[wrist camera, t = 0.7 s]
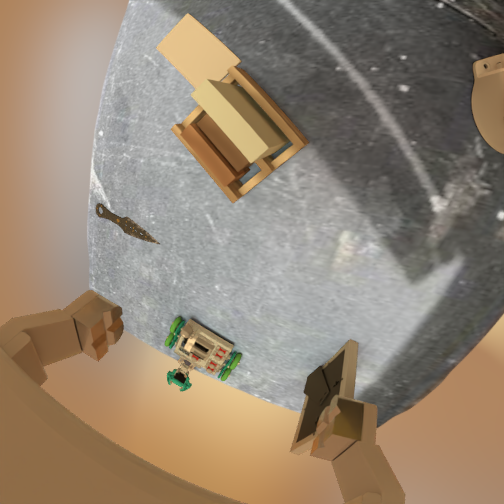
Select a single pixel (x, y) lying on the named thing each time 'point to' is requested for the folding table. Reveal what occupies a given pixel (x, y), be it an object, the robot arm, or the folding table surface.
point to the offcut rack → (275, 113)
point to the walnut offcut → (223, 143)
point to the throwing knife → (128, 222)
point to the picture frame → (325, 393)
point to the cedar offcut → (211, 155)
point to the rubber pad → (197, 52)
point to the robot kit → (198, 352)
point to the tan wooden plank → (240, 119)
